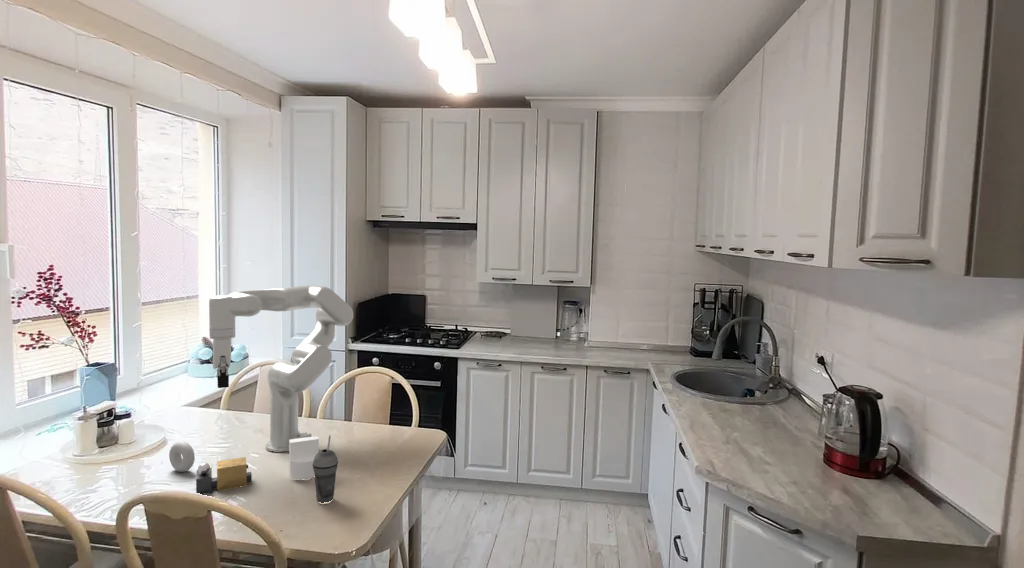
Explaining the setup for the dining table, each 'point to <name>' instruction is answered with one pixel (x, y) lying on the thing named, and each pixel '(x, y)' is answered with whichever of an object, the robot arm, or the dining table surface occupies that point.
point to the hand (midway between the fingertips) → (223, 383)
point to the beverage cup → (325, 474)
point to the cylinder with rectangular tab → (302, 457)
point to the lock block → (231, 473)
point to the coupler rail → (209, 479)
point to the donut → (176, 456)
